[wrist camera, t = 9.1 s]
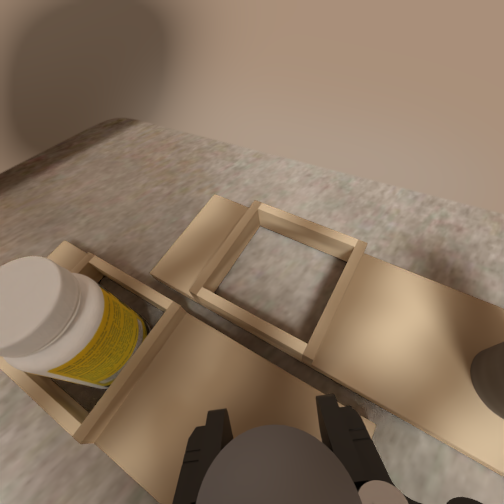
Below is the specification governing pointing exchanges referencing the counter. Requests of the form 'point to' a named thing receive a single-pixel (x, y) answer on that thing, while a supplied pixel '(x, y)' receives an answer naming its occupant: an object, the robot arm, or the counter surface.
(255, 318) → the empty strip
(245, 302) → the counter surface
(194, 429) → the robot arm
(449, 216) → the counter surface
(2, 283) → the supplement bottle
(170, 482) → the wooden rack with post
